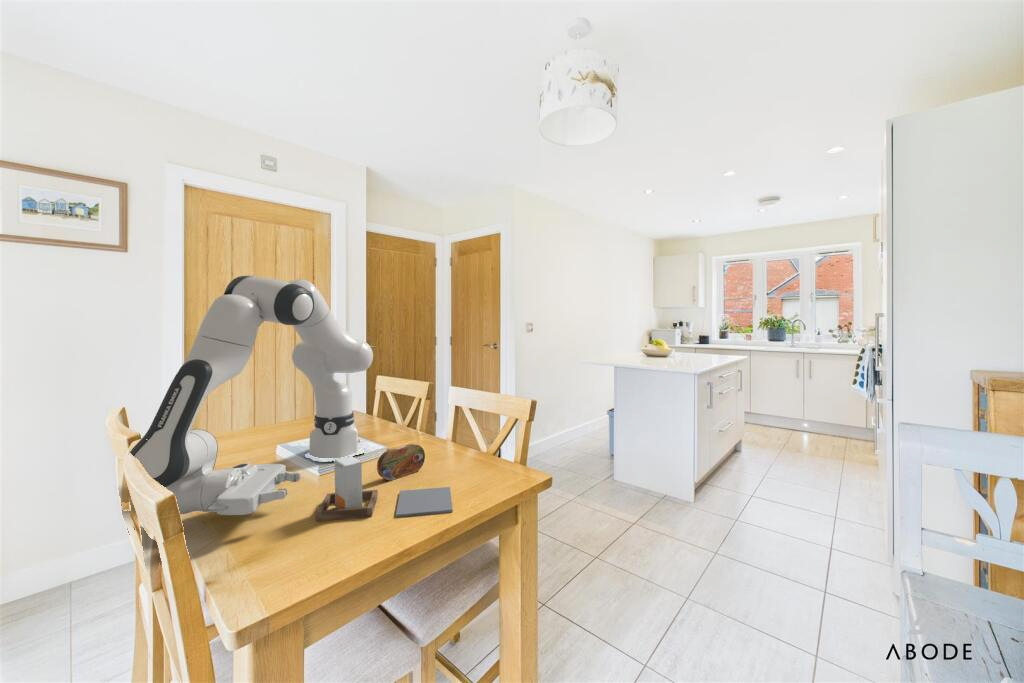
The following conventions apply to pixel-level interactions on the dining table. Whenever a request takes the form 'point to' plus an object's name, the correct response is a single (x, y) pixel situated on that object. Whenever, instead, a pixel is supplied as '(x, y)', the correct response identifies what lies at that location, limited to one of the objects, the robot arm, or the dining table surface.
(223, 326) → the robot arm
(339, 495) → the skincare box
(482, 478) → the dining table surface
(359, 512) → the walnut collar
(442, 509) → the slate mat
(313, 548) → the dining table surface
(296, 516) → the dining table surface
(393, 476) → the tin
